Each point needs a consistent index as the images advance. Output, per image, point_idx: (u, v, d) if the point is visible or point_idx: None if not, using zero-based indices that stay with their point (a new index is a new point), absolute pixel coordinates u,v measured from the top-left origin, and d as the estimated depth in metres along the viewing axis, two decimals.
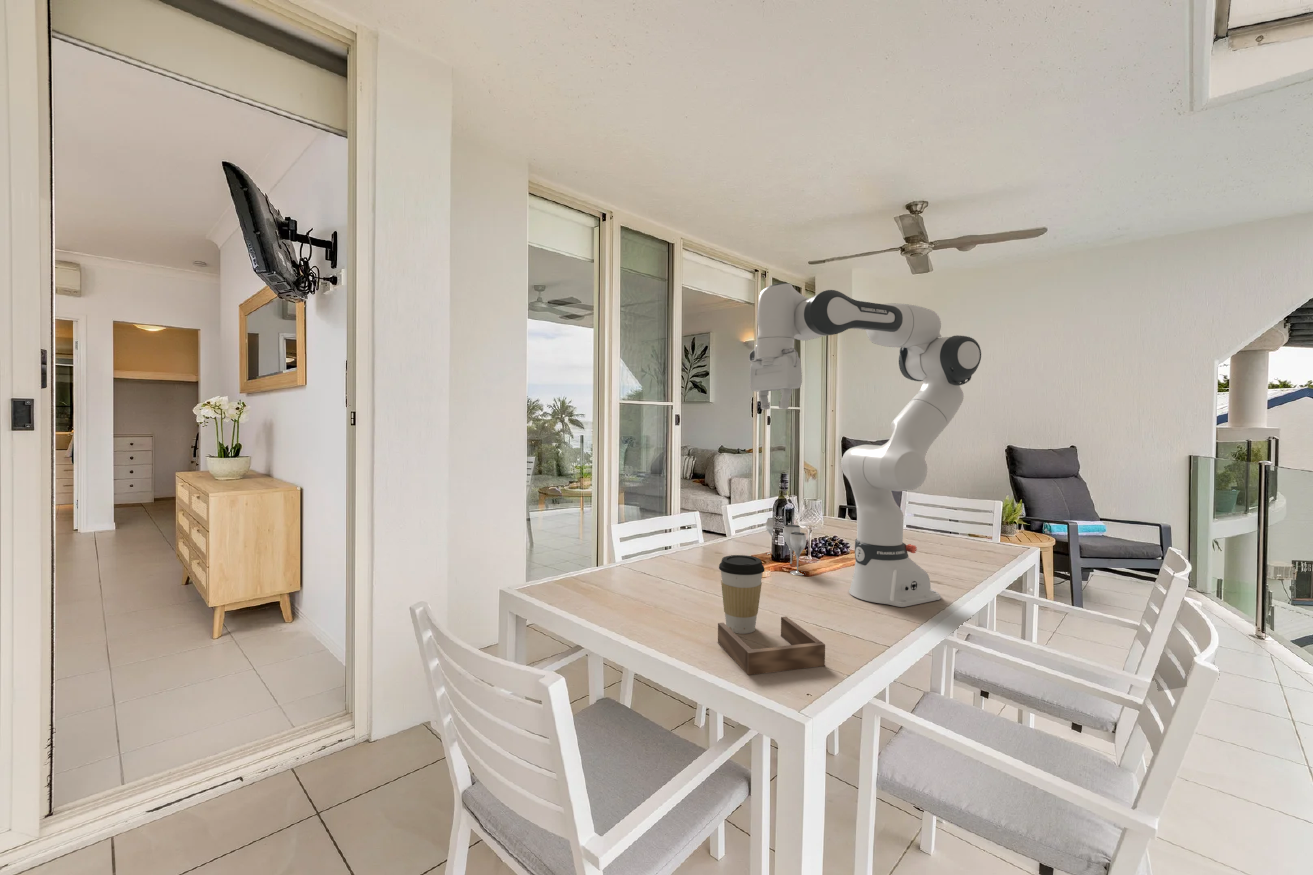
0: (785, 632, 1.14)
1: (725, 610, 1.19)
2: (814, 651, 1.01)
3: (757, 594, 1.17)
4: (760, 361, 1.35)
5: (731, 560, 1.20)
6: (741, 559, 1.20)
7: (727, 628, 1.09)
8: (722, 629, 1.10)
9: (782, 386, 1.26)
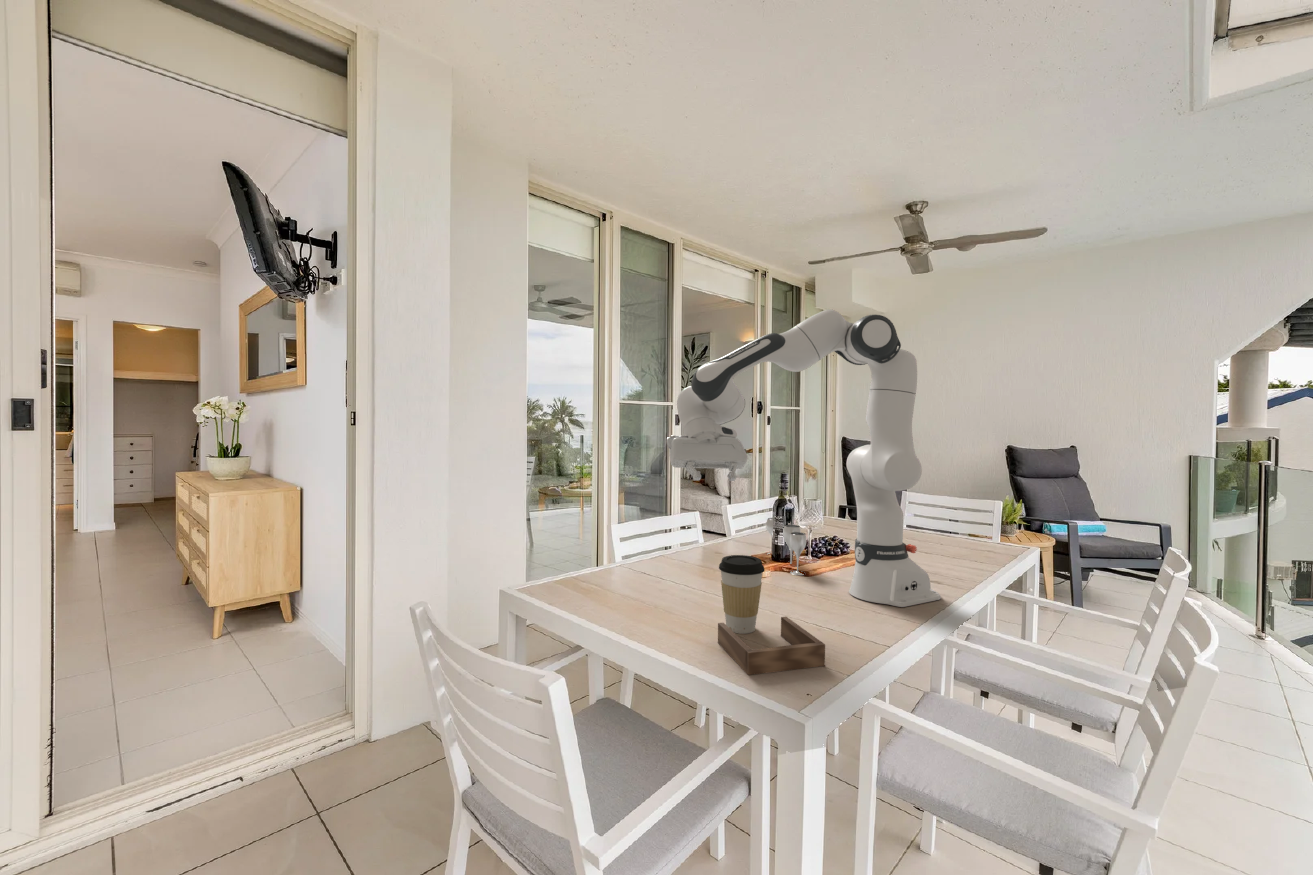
0: (785, 632, 1.14)
1: (725, 610, 1.19)
2: (814, 651, 1.01)
3: (757, 594, 1.17)
4: None
5: (731, 560, 1.20)
6: (741, 559, 1.20)
7: (727, 628, 1.09)
8: (722, 629, 1.10)
9: None
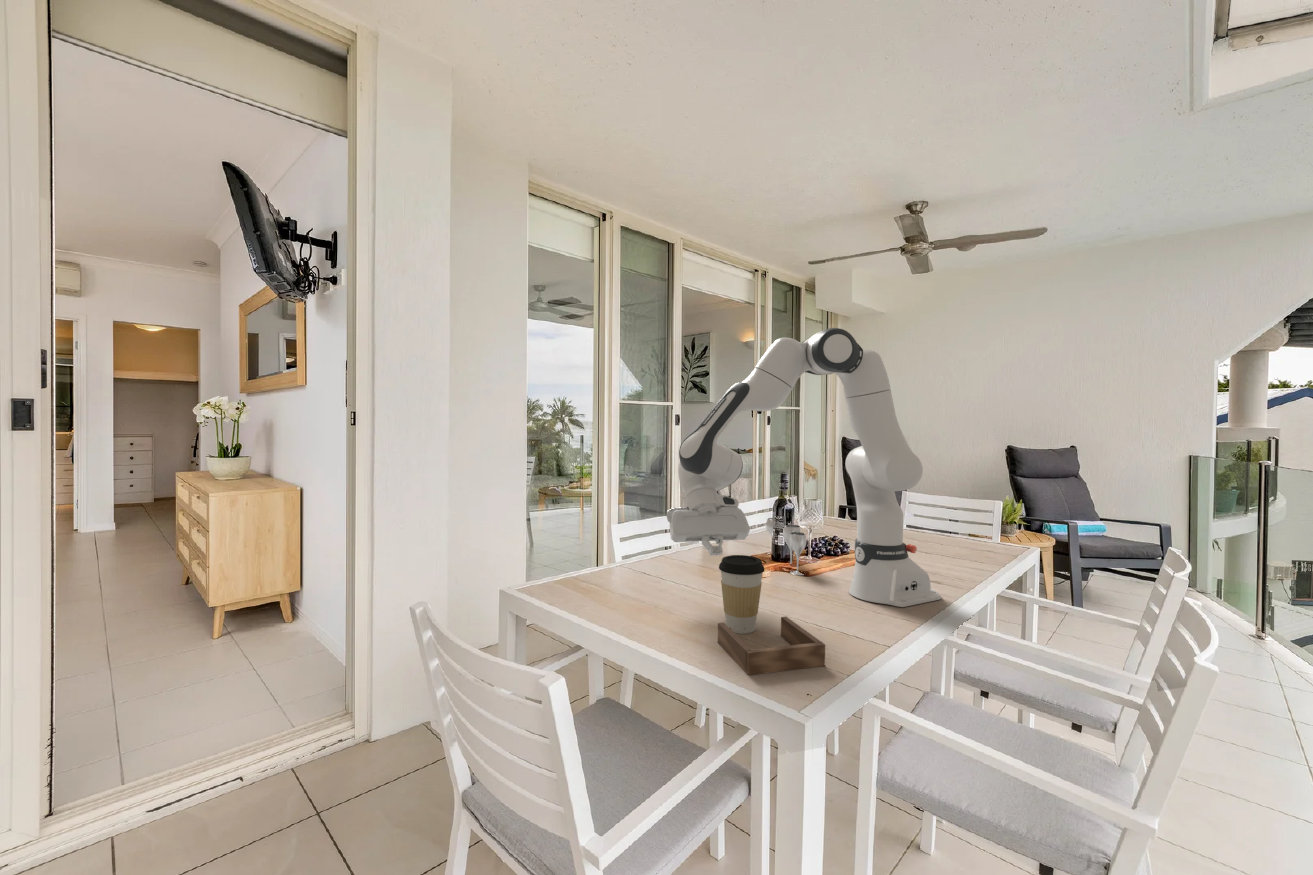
0: (785, 632, 1.14)
1: (725, 610, 1.19)
2: (814, 651, 1.01)
3: (757, 594, 1.17)
4: None
5: (731, 560, 1.20)
6: (741, 559, 1.21)
7: (727, 628, 1.09)
8: (722, 629, 1.10)
9: None
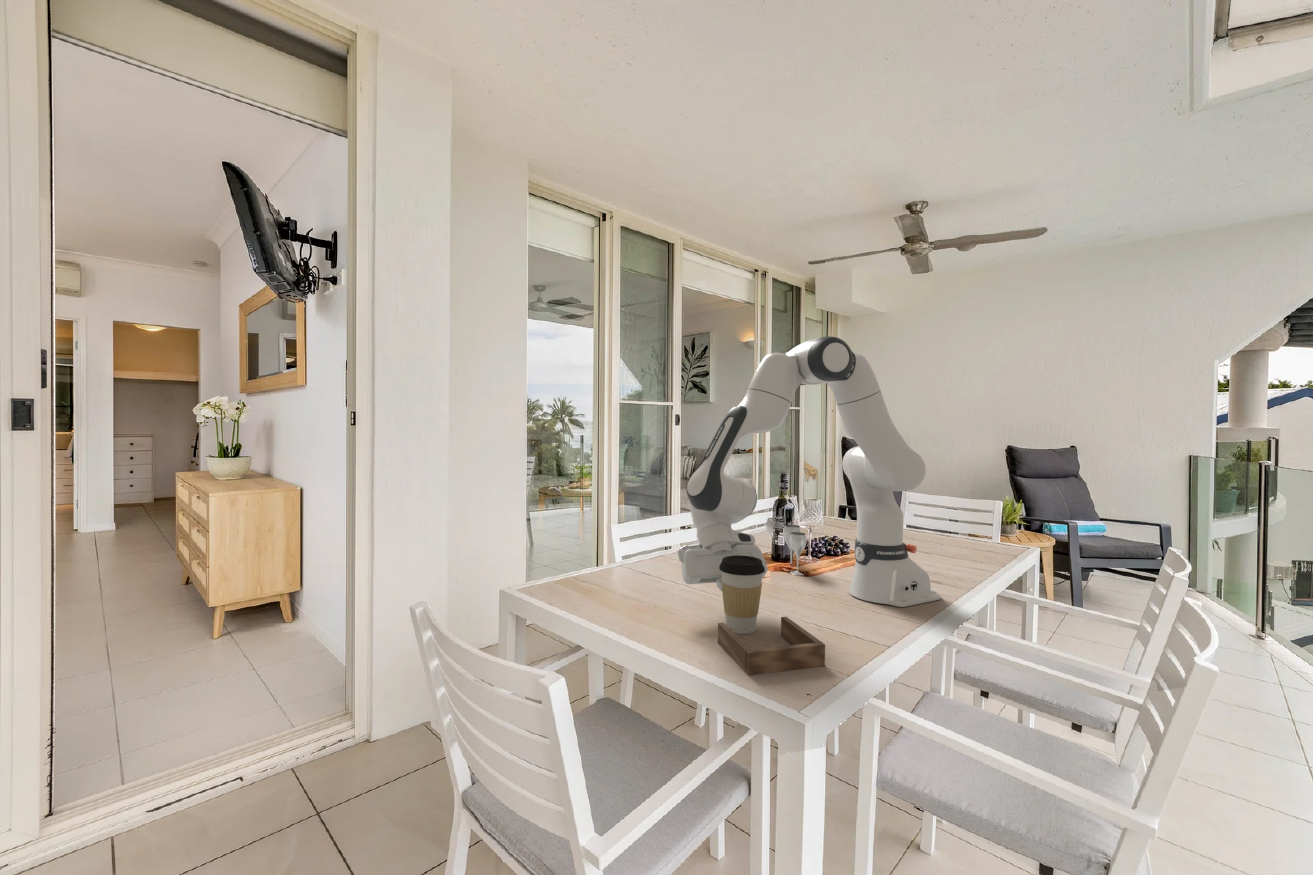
0: (785, 632, 1.14)
1: (725, 611, 1.18)
2: (814, 651, 1.01)
3: (758, 594, 1.17)
4: None
5: (731, 560, 1.20)
6: (741, 560, 1.20)
7: (727, 628, 1.09)
8: (722, 629, 1.10)
9: None
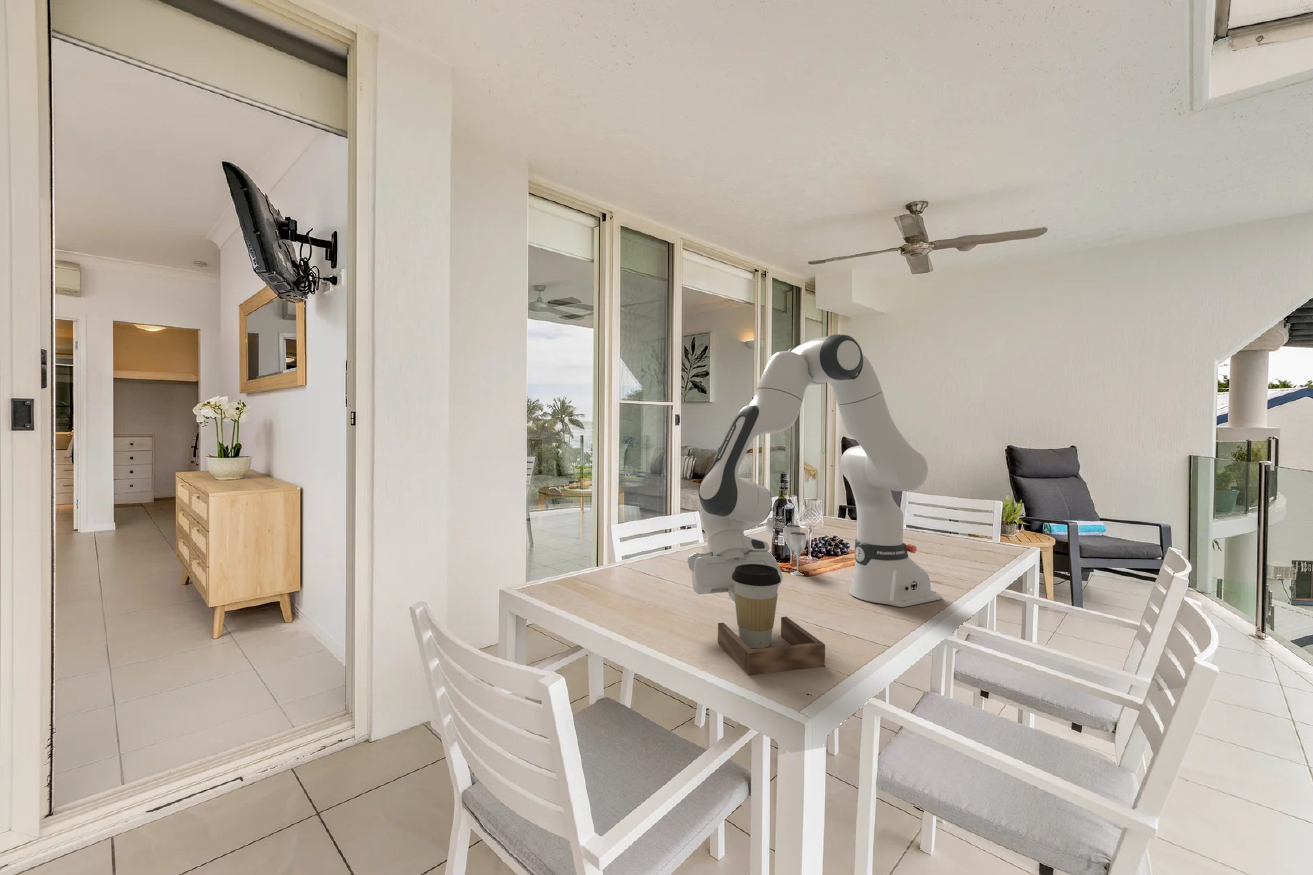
0: (785, 632, 1.14)
1: (739, 623, 1.11)
2: (814, 651, 1.01)
3: (773, 606, 1.09)
4: None
5: (745, 570, 1.12)
6: (755, 569, 1.13)
7: (727, 628, 1.09)
8: (722, 629, 1.10)
9: None
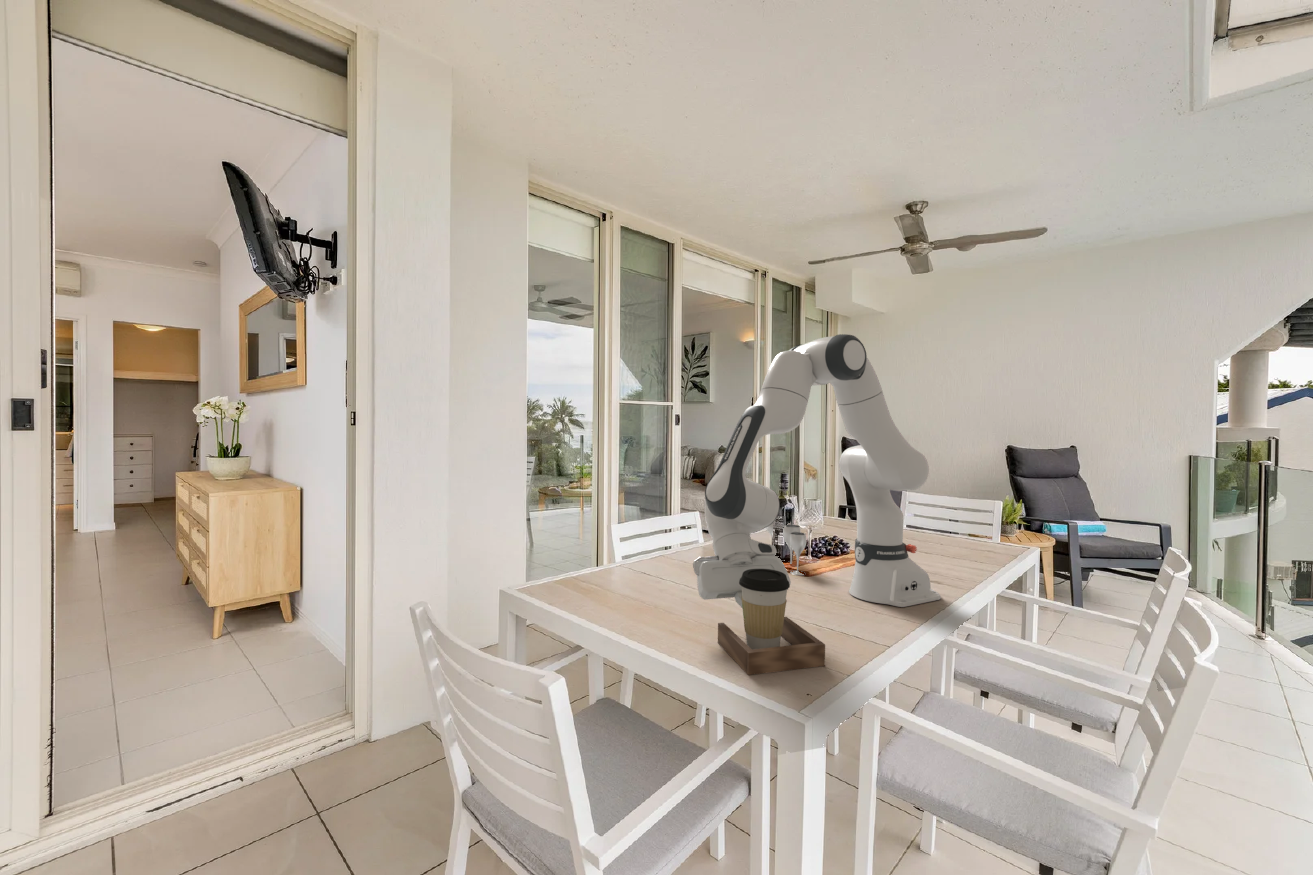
0: (785, 632, 1.14)
1: (747, 630, 1.07)
2: (814, 651, 1.01)
3: (783, 612, 1.06)
4: None
5: (752, 575, 1.09)
6: (763, 574, 1.09)
7: (727, 628, 1.09)
8: (722, 629, 1.10)
9: None
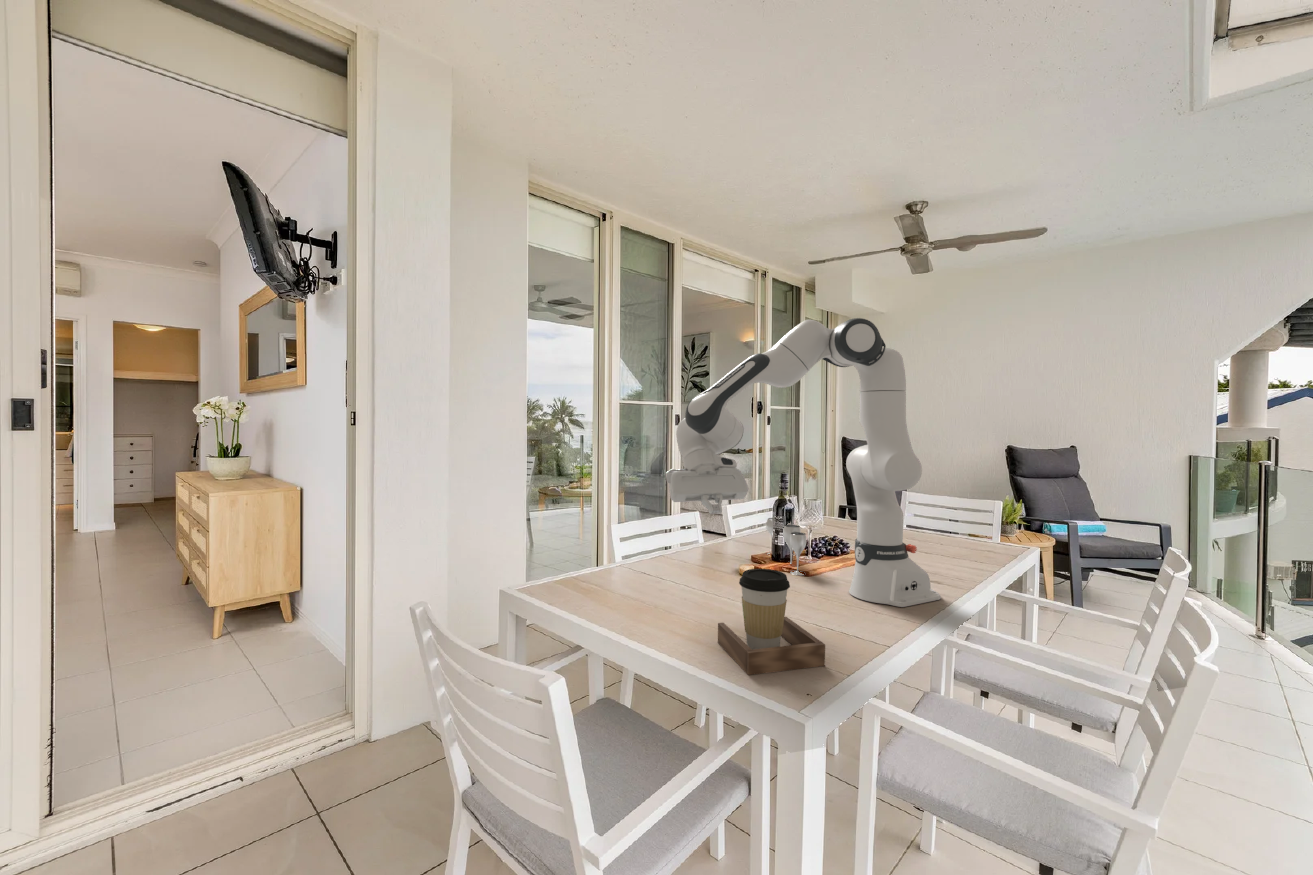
0: (785, 632, 1.14)
1: (747, 630, 1.07)
2: (814, 651, 1.01)
3: (783, 612, 1.06)
4: None
5: (753, 575, 1.09)
6: (763, 574, 1.09)
7: (727, 628, 1.09)
8: (722, 629, 1.10)
9: None
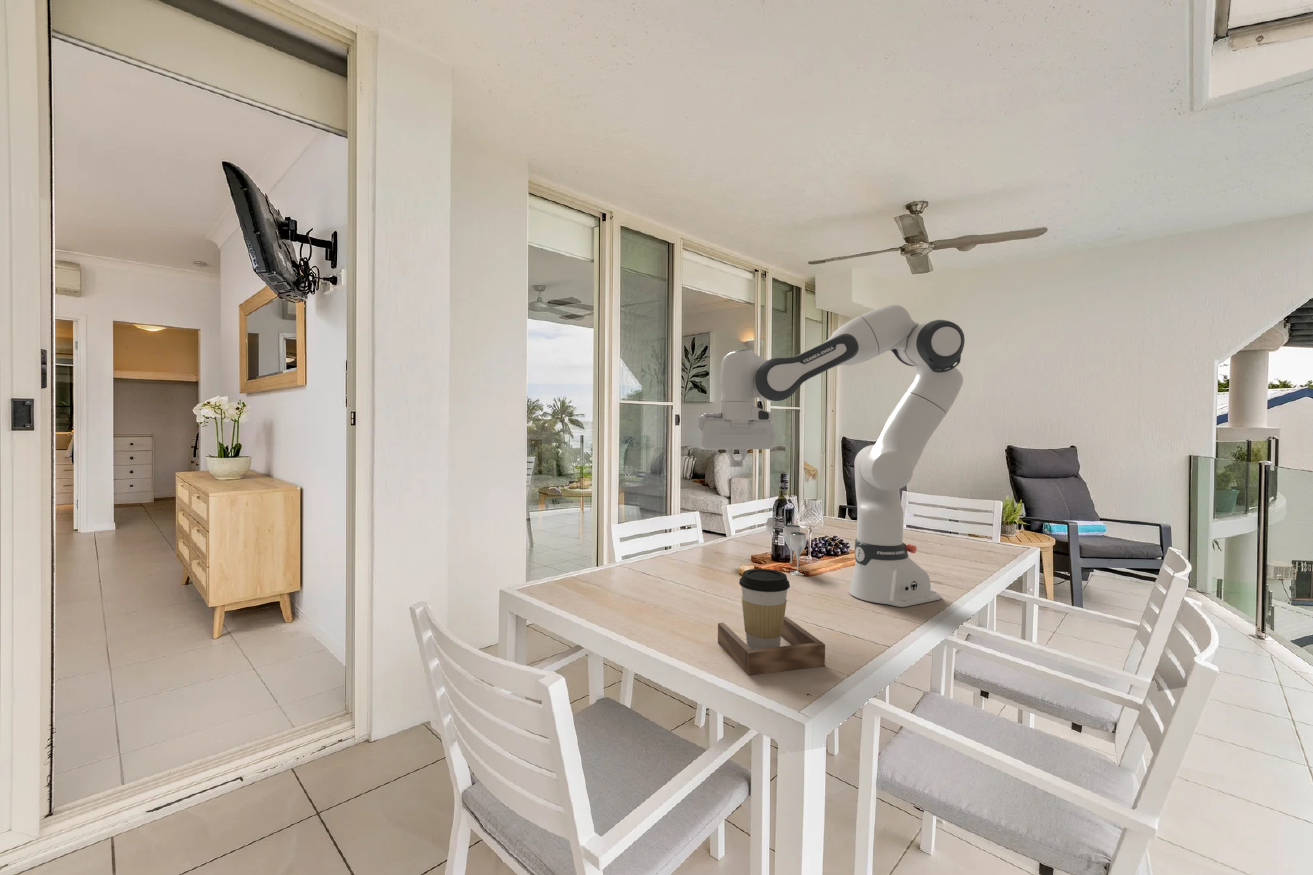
0: (785, 632, 1.14)
1: (747, 630, 1.07)
2: (814, 651, 1.01)
3: (783, 612, 1.06)
4: None
5: (753, 575, 1.09)
6: (763, 574, 1.09)
7: (727, 628, 1.09)
8: (722, 629, 1.10)
9: None
